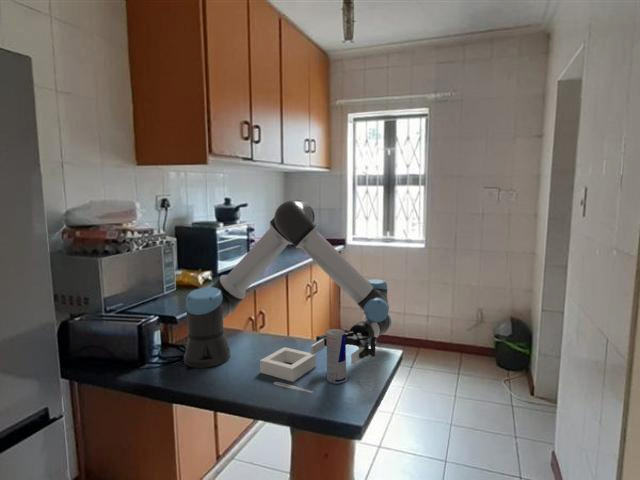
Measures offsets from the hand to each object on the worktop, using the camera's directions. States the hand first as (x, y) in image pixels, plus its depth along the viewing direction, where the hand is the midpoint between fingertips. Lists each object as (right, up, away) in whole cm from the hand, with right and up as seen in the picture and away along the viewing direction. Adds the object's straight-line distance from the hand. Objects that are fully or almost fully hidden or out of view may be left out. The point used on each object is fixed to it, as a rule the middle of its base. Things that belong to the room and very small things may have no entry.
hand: (331, 354), depth 120 cm
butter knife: (-5, -10, -3) cm, 12 cm away
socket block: (-13, -8, +12) cm, 19 cm away
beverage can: (+2, -9, +4) cm, 10 cm away
